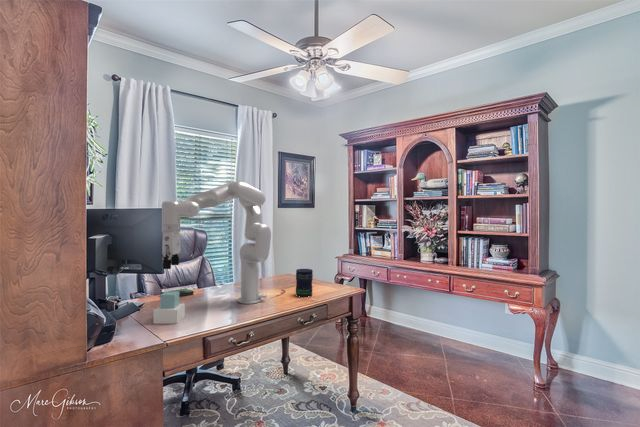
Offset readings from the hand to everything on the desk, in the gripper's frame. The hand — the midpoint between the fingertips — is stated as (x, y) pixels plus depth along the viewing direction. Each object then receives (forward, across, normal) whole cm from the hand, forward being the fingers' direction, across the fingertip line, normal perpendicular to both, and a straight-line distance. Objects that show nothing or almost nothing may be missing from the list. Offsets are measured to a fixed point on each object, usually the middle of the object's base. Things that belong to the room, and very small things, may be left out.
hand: (171, 266), depth 150 cm
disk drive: (+25, +43, +12) cm, 51 cm away
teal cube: (+18, 0, 0) cm, 18 cm away
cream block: (+24, 0, 0) cm, 24 cm away
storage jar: (+25, +42, -60) cm, 78 cm away
